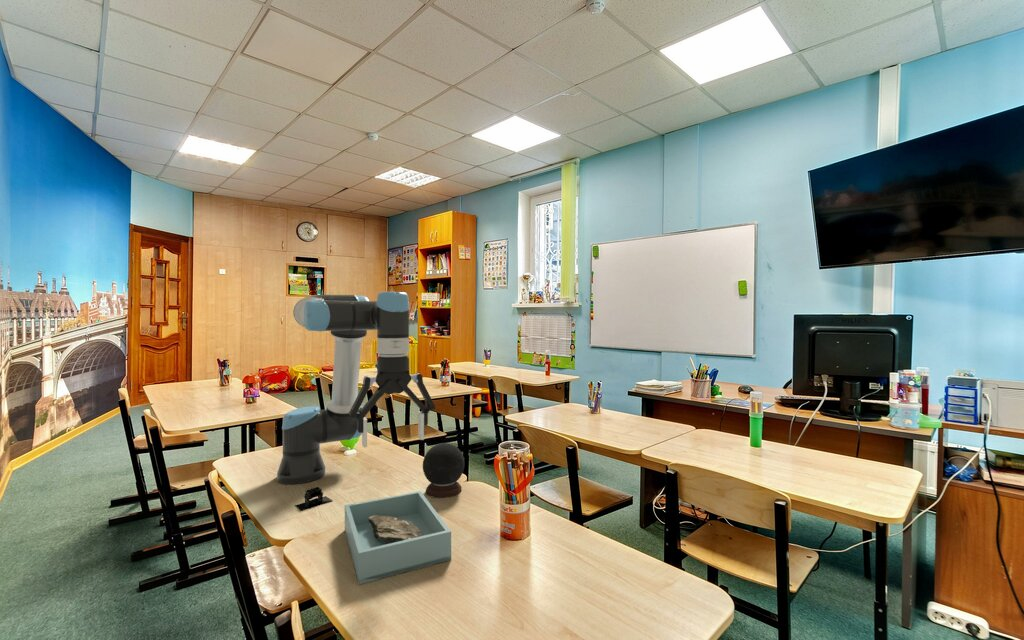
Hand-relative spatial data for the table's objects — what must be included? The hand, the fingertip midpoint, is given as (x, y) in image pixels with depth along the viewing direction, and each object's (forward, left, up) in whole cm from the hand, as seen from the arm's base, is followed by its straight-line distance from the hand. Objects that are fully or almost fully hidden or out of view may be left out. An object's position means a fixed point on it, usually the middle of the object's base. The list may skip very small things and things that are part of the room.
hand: (393, 442), depth 107 cm
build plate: (-34, -16, -26) cm, 46 cm away
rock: (0, +1, -24) cm, 24 cm away
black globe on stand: (-25, +21, -25) cm, 41 cm away
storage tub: (+1, 0, -25) cm, 25 cm away
